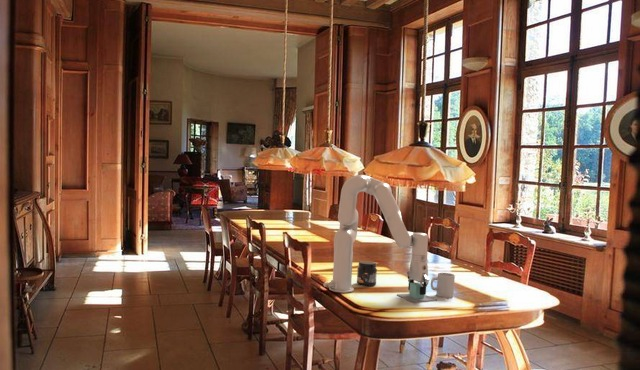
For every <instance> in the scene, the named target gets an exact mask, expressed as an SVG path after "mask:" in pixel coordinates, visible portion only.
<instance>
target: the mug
mask: <svg viewBox="0 0 640 370" xmlns="http://www.w3.org/2000/svg"><path fill="white" fill-rule="evenodd" d="M455 278H456V275H455V274H454V273H450V272H439V273H437V276H434V277H432V278H431V281H430V289H431V290H432V291H436V294H435V295H436V296H437V297H439V298H445V299H450V298H454V297H455V296H454V293H455V281H456V280H455ZM434 281H437V282H436V284H437V285H436V287H435V286H434Z"/></svg>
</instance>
